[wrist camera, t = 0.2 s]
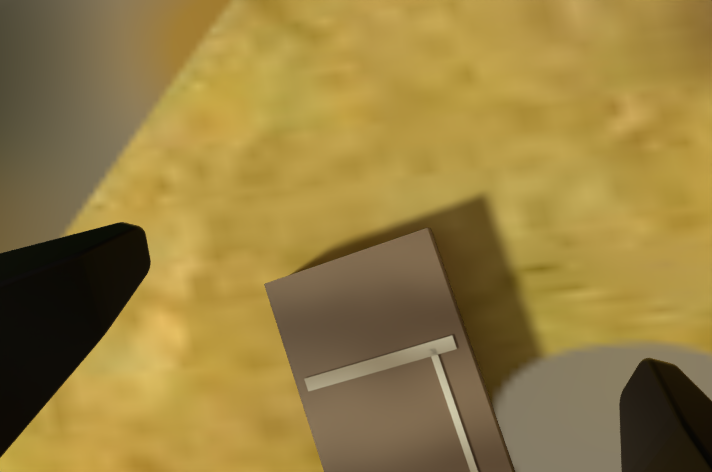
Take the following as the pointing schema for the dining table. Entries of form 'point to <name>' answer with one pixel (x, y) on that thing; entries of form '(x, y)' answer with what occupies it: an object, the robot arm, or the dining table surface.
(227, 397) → the dining table surface
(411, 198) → the dining table surface
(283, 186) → the dining table surface
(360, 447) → the walnut board
